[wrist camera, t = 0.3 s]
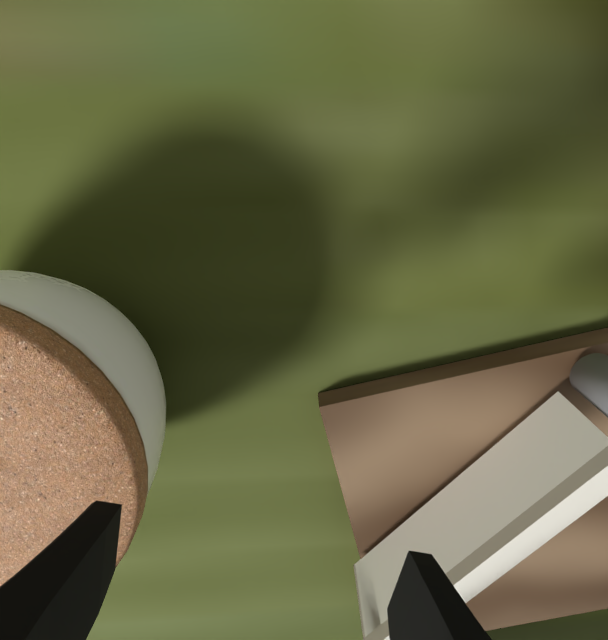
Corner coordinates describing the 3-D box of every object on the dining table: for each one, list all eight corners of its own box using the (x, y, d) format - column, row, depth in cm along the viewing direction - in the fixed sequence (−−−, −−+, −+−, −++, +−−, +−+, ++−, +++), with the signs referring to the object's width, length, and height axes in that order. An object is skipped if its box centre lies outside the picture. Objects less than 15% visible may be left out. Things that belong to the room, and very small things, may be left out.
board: (660, 575, 25) (742, 670, 20) (381, 627, 26) (399, 729, 21) (665, 314, 20) (774, 363, 15) (318, 393, 21) (323, 460, 16)
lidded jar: (-102, 256, 19) (-465, 354, 10) (165, 223, 18) (41, 293, 9) (-8, 479, 22) (-210, 696, 13) (216, 454, 22) (160, 660, 13)
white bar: (596, 344, 18) (683, 400, 14) (623, 371, 19) (716, 433, 15) (347, 559, 22) (358, 654, 18) (374, 577, 22) (392, 674, 18)
